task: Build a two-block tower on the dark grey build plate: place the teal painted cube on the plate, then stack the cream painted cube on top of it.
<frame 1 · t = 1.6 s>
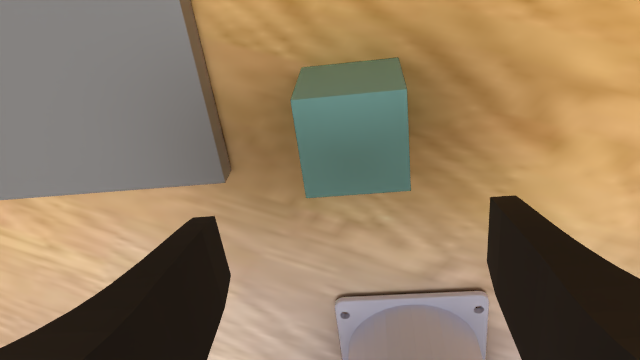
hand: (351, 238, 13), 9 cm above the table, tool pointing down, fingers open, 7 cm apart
build plate: (64, 57, 21), on the table
teal cube: (353, 107, 21), on the table
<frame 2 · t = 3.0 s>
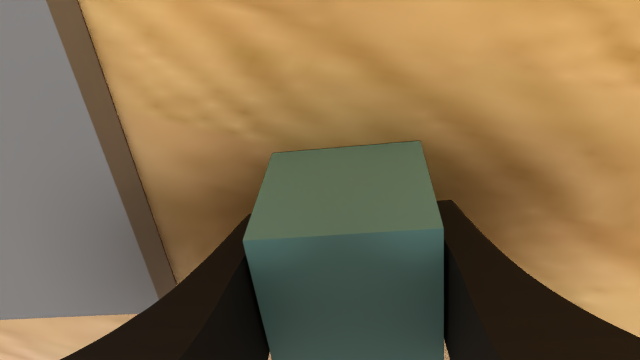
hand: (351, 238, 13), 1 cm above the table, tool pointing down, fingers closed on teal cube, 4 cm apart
teal cube: (351, 209, 14), on the table, touching gripper
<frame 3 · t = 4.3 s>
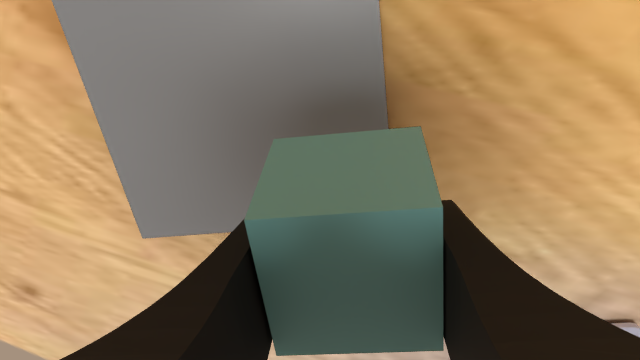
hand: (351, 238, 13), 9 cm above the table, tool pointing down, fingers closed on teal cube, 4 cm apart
build plate: (242, 97, 21), on the table
teal cube: (352, 195, 14), point 7 cm above the table, touching gripper
when the fingers open (4 cm above the table, at t = 6.0 s): teal cube stays where it is, resting on build plate.
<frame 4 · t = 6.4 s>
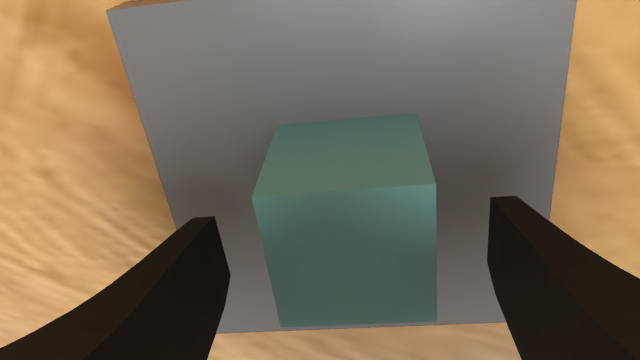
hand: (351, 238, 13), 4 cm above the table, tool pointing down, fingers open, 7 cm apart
build plate: (352, 169, 16), on the table
teal cube: (351, 179, 15), point 1 cm above the table, touching build plate
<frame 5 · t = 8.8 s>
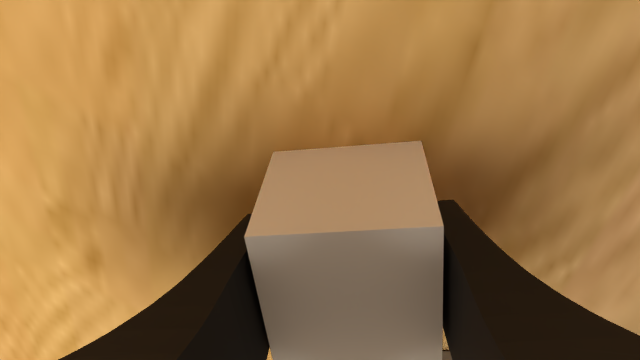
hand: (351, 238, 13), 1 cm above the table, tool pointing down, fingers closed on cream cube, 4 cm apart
cream cube: (352, 207, 14), on the table, touching gripper
when the fingers open (8 cm above the table, at t = 11.8 s): cream cube stays where it is, resting on teal cube.
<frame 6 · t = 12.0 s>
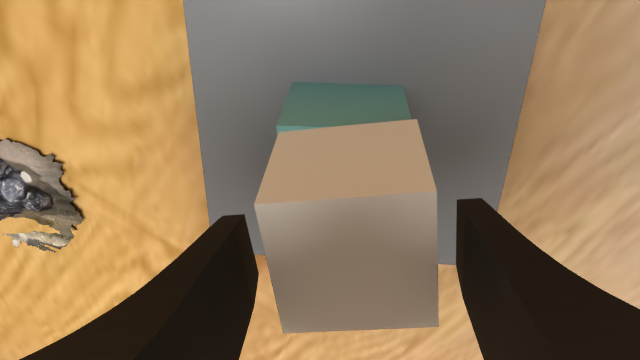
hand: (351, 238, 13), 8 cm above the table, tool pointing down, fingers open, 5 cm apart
build plate: (353, 122, 20), on the table
teal cube: (345, 134, 19), point 1 cm above the table, touching build plate, cream cube
blueberries: (5, 187, 23), on the table
cream cube: (353, 185, 15), point 5 cm above the table, touching teal cube
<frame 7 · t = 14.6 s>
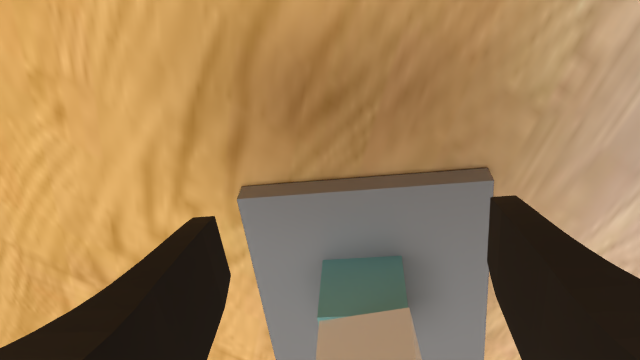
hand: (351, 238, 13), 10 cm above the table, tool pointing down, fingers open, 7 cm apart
build plate: (370, 272, 27), on the table
teal cube: (364, 287, 26), point 1 cm above the table, touching build plate, cream cube
cream cube: (373, 345, 22), point 5 cm above the table, touching teal cube
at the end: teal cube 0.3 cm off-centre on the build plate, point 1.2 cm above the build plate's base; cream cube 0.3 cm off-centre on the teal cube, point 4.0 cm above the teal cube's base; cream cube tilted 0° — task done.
